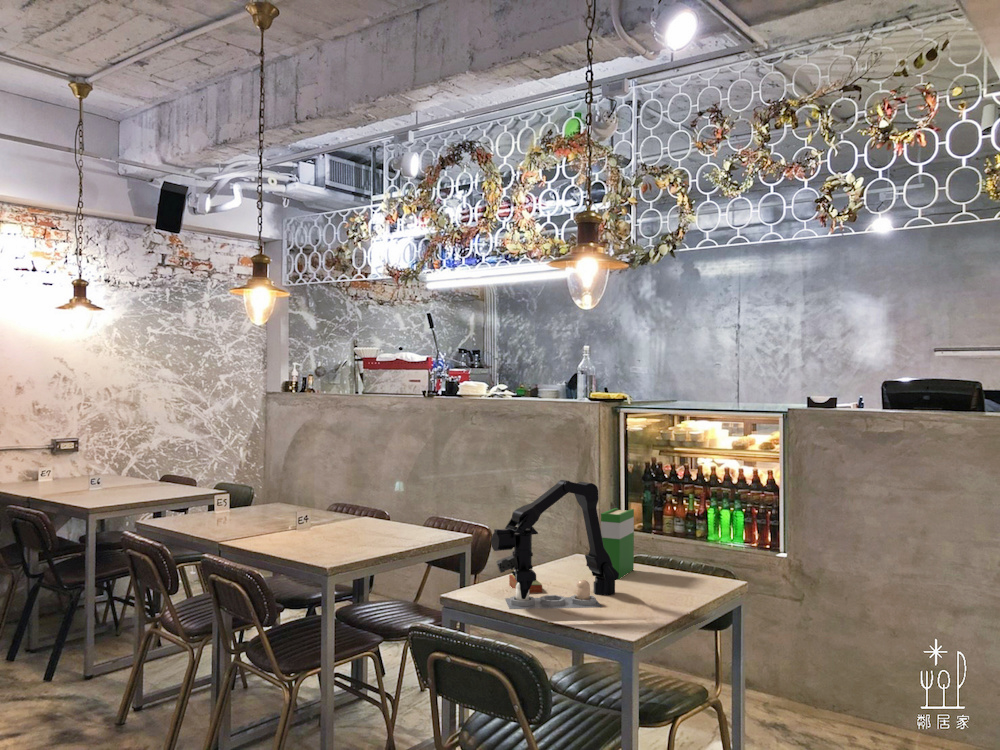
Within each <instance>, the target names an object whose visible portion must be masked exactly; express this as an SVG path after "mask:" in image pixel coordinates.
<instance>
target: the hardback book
mask: <svg viewBox="0 0 1000 750" xmlns="http://www.w3.org/2000/svg"><path fill="white" fill-rule="evenodd" d="M634 526H635V509H634V508H631V509H628V510H627V509H626V510H625V509H624V510H623V509H619V507H615V508H612V509H609V510H606V511H604V512H602V513H600V529H601V535H602V540H603V545H604V548H605V550H606V552H607V553H608V555H609V556H610V559H611V562H612V565H613V568H614V569H615V570H616V571H617V572H618V573H619V577H618V580H621V579H622V578H621V577H623V576H624V575H626V574H627V573H629V572H630V571H632V570H633V569H634V566H635V565H634V562H635V561H634V559H635V558H634V550H635V549H634V548H635V545H634V541H635V539H634V538H635V536H634V535H635V528H634ZM633 571H634V570H633ZM633 571H632V572H633ZM630 573H631V572H630ZM630 573H629V574H630ZM627 575H628V574H627ZM627 575H626V576H627ZM624 577H625V576H624ZM624 577H623V578H624ZM620 578H621V579H620Z"/></svg>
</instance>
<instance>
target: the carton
mask: <svg viewBox="0 0 1000 750" xmlns="http://www.w3.org/2000/svg"><path fill="white" fill-rule="evenodd" d="M515 578H516V577H515V576H514V575H513V574H509V587H510V586H511V587H512V588H511V587H510V588H511V589H515V590H516V585H517V581H516V579H515ZM538 593H543V584H542V583H541V582H540V581H538V580H537V579H536V581H533V583H532V585H531V587H530V589H529V594H538Z"/></svg>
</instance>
